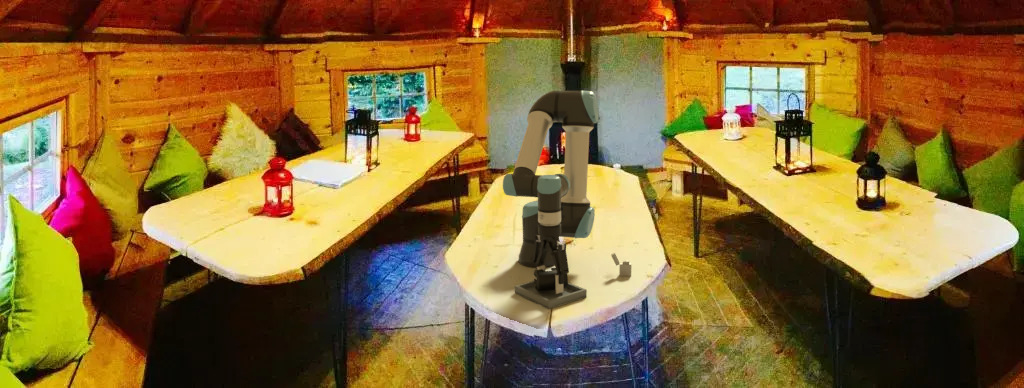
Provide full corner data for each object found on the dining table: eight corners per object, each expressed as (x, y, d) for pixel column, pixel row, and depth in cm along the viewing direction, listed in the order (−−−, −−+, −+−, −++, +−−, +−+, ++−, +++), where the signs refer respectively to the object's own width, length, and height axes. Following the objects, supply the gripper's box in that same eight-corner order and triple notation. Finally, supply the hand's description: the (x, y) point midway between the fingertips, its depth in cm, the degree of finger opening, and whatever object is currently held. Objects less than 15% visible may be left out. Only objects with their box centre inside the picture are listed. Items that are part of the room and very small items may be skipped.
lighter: (631, 274, 254) (631, 253, 252) (631, 276, 252) (631, 254, 251) (611, 273, 255) (611, 252, 253) (611, 275, 253) (611, 254, 251)
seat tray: (514, 293, 238) (514, 285, 238) (551, 282, 248) (551, 275, 247) (549, 309, 224) (548, 301, 224) (586, 297, 234) (586, 289, 233)
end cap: (539, 295, 231) (539, 275, 229) (532, 287, 238) (532, 268, 236) (568, 291, 234) (568, 271, 232) (561, 284, 240) (560, 265, 239)
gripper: (520, 218, 237) (521, 282, 242) (562, 232, 220) (562, 300, 225) (537, 214, 241) (538, 277, 246) (580, 227, 224) (580, 295, 229)
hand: (550, 288), depth 236 cm, fingers closed on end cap, 9 cm apart
